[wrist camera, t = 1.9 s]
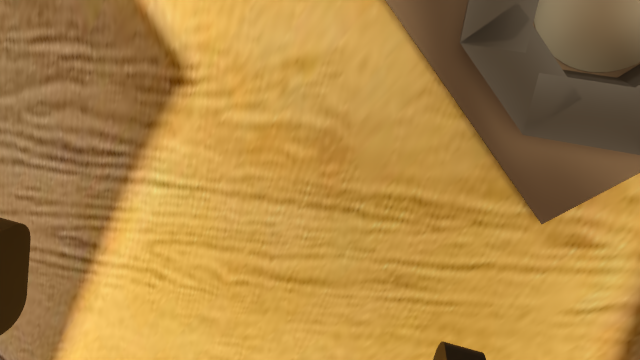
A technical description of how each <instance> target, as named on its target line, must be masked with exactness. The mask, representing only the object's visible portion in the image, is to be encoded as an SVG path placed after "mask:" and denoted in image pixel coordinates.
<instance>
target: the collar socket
mask: <svg viewBox="0 0 640 360" xmlns="http://www.w3.org/2000/svg"><path fill="white" fill-rule="evenodd" d="M385 1H386V2H387V3H388V5H389V6H390V8H391V9H392V11H393V12H394V13H395V15H396V16H397V18H398V19H399V21H400V22H401V23H402V25H403V26H404V28H405V29H406V31H407V32H408V34H409V35H410V36H411V38H412V39H413V41H414V42H415V44H416V45H417V46H418V48H419V49H420V51H421V52H422V54H423V55H424V56H425V58H426V59H427V61H428V62H429V64H430V65H431V66H432V68H433V69H434V71H435V72H436V74H437V75H438V77H439V78H440V79H441V81H442V82H443V84H444V85H445V87H446V88H447V89H448V91H449V92H450V94H451V95H452V97H453V98H454V99H455V101H456V102H457V104H458V105H459V107H460V108H461V109H462V111H463V112H464V114H465V115H466V117H467V118H468V120H469V121H470V122H471V124H472V125H473V127H474V128H475V130H476V131H477V132H478V134H479V135H480V137H481V138H482V140H483V141H484V142H485V144H486V145H487V147H488V148H489V150H490V151H491V152H492V154H493V155H494V157H495V158H496V160H497V161H498V163H499V164H500V165H501V167H502V168H503V170H504V171H505V173H506V174H507V175H508V177H509V178H510V180H511V181H512V183H513V184H514V185H515V187H516V188H517V190H518V191H519V193H520V194H521V195H522V197H523V198H524V200H525V201H526V203H527V204H528V206H529V207H530V208H531V210H532V211H533V213H534V214H535V216H536V217H537V218H538V220H539V221H540V223H541V224H543V223H545V222H547V221H549V220H551V219H553V218H555V217H557V216H559V215H560V214H562V213H564V212H566V211H568V210H570V209H572V208H574V207H576V206H578V205H579V204H581V203H583V202H585V201H587V200H589V199H591V198H593V197H595V196H597V195H598V194H600V193H602V192H604V191H606V190H608V189H610V188H612V187H614V186H616V185H618V184H619V183H621V182H623V181H625V180H627V179H629V178H631V177H633V176H635V175H637V174H638V173H640V0H385Z"/></svg>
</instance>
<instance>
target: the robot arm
mask: <svg viewBox="0 0 640 360" xmlns="http://www.w3.org/2000/svg"><path fill="white" fill-rule="evenodd" d="M29 253H30V232H29V229H28V227H27V226H26V225H24V224H21V223H18V222H14V221H10V220H7V219H3V218H0V335H2V334H3V333H4V332H6V331H7V330H8V329H9V328H11V327H12V326H13V324H14V323H15V322H16V321H17V319H18V318H19V316H20V314H21V312H22V310H23V308H24V305H25V302H26V296H27V283H28V268H29ZM433 360H486V358H485V355H484V353H482V352H478V351H475V350H471V349H468V348H464V347H460V346H457V345H453V344H450V343H446V342H441V343H440V344H439V346H438V348H437V350H436V353H435V356H434V359H433Z"/></svg>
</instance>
